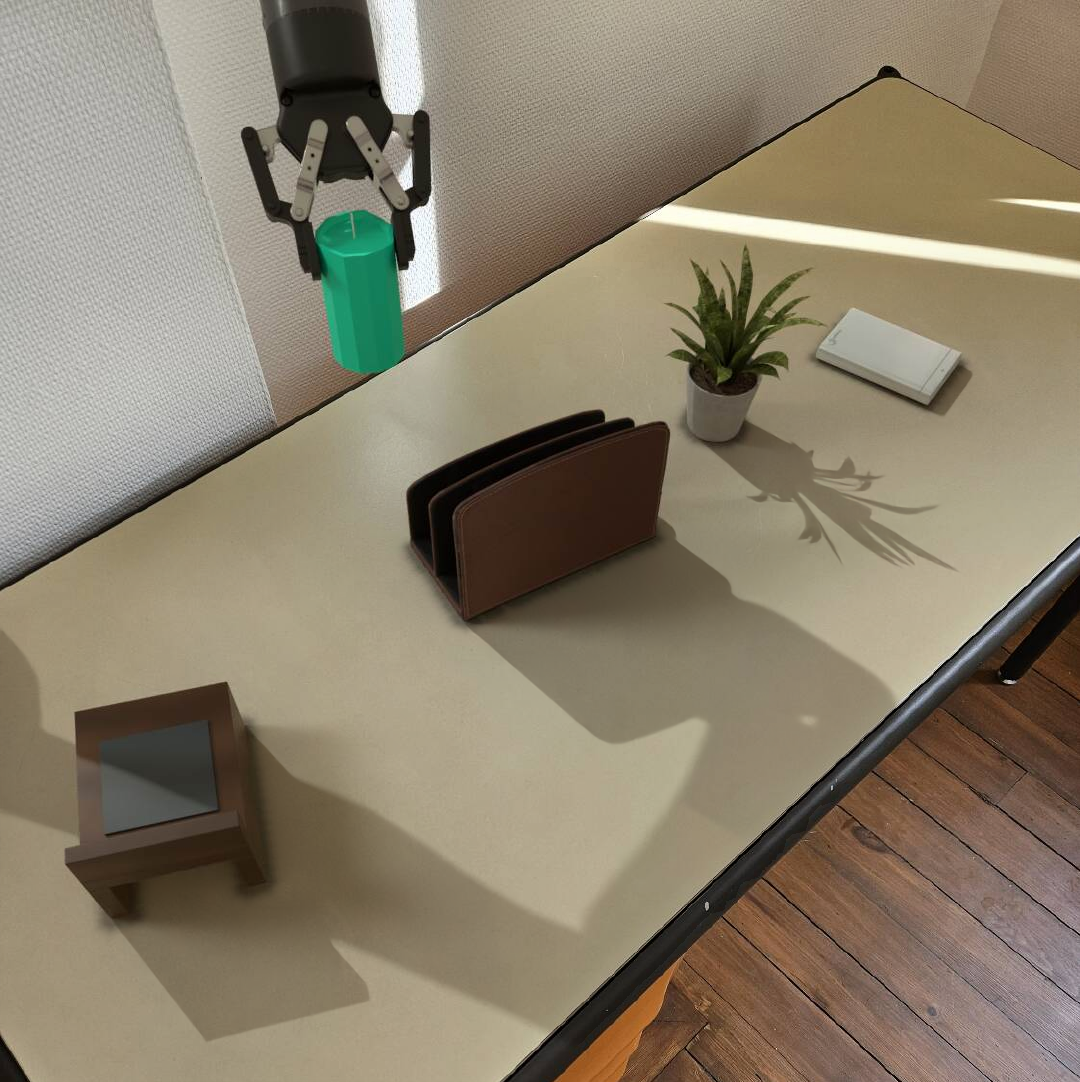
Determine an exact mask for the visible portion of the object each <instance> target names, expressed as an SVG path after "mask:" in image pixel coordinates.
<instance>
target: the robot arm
mask: <svg viewBox="0 0 1080 1082" xmlns="http://www.w3.org/2000/svg"><path fill="white" fill-rule="evenodd" d="M259 5H260V10H261V11H260V12H261V20H262V21H261V23H262V27H263V30H264V32H265V38H266V43H267V48H268V54H269V60H270V65H271V70H272V75H273V80H274V86H275V91H276V92H275V93H276V97H277V102H278V107H279V108H278V109H279V111H278V117H277V119H276V124H274V125H271V126H268V127H263V128H259V129H256V128H254V127H253V126H250V125H249V126H248V125H247V126H244V127H243V128H242V129H241V131H240V138H241V142H242V146H243V149H244V152H245V153H244V154H245V156H246V158H247V162H248V165H249V167H250V170H251V173H252V176H253V177H252V178H253V180H254V182H255V185H256V189H257V192H258V194H259V195H258V196H259V198H260V200H261V204H262V207H263V209H264V213H265V216H266V218H267V220H268V221H269V222H271V223H273V224H274V223H280V224H284V225H287V226H288V227H290V228H291V230H292V232H293V234H294V240H295V245H296V251H297V255H298V260H299V266H300V269H301V270H302V272H303V273H304V275H305V274H311V279H312V280H311V281H312V282H315V281H321V280H322V276H321V270H320V265H319V259H318V254H317V248H316V243H315V231H314V227H313V221H310V218H311V215H312V211H313V205H314V201H315V199H316V196H317V193H318V188H319V186H320V185H319V184H320V182H323V184H324V185H325V184H335V183H336V182H339V181H341V180H351V181H362V180H366V177H367V178H368V180H369V182H370V183H371V185H372V186H373V188H374V190H375V191H376V192H377V193H378V195H380V197H381V198H382V200H383V201H384V203H385V204H386V206H387V207H388V209H389V210H390V212H391V214H390V219H389V222H390V223H389V224H391V225H392V226H393V234H394V244H395V254H396V264H397V271H398V272H402V271H408V270H409V268H410V262H414V259H415V255H416V250H417V249H416V242H415V237H414V231H413V224H412V218H411V214H412V212H414V211H415V210H416V209H419V208H420V207H425V206H427V205H428V203H429V201H430V197H431V194H432V191H433V188H432V187H433V186H432V155H431V154H432V153H431V121H430V120H431V119H430V116H429V113H428V112H427V111H426V110H423V109H418V110H416V111H415V112H414V114H407V113H406V114H404V113H393V112H392V111H391V108H390V107H389V106H388V105H387V103H386V101H385V99H384V96H383V91H382V85H381V79H380V72H379V66H378V60H377V54H376V49H375V41H374V37H373V32H372V24H371V19H370V12H369V6H368V0H259ZM393 132H395V133H396V134H398V136H399V137H400V140H401V141H400V142H401V145H402V146H403V147H404V148H405V149H408V150H411V173H412V175H411V177H412V178H411V179H412V186H411V187H408V188H407V189H406V190H404V188H403V186H402V185H401V184H400V181H399V180H398V179H397V177H396V175H395V173H394V170H393V169H392V167H391V165H390V163H389V162H388V161H387V159H386V157H385V156H384V154H383V153H384V150H385V148H386V145H387V143H388V141H389V139H390V137H391V135H392V133H393ZM279 144H281V145H282V146H283V147H284V148H285V149H286V150H287V151H288V153H290V155H291V156H292V157H293V158H294V160H296V161H297V162H298V164H299V165H300V168H299V173H298V176H297V181H296V187H295V191H294V195H293V199H292V202H289V201H284V200H281V199H280V198H279V195H278V191H277V189H276V185H275V182H274V179H273V176H272V173H271V170H270V167H269V164H272V163H274V161H275V159H276V152H275V151H276V147H277V145H279Z"/></svg>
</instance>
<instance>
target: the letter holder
mask: <svg viewBox="0 0 1080 1082" xmlns="http://www.w3.org/2000/svg"><path fill="white" fill-rule="evenodd" d="M670 440H671V429H670V427H669V426H668V423H667V422H665V421H664V420H656V421H651V422H648V423H644V424H640V425H636V422H635V420H634V419H633V418H632V417H629V416H626V417H620V418H615V419H611V420H608V421H606V414H605V411H604V410H602V409H599V408H597V409H596V408H595V409H588V410H583V411H580V412H577V413H573V414H570V415H566V416H563V417H560V418H557V419H554V420H550V421H548V422H545V423H542V424H540V425H536V426H533V427H531V428H528V429H525V430H523V431H520V432H518V433H514V434H512V435H510V436H507V437H505V438H502V439H500V440H497V441H494V442H492V443H490V444H487V445H484V446H482V447H480V448H478V449H475V450H473V451H470V452H468V453H466V454H464V455H461V456H460V457H457V458H456V459H453V460H451V461H449V462H446V463H444V464H443V465H440V466H438V467H437V468H435V469H433V470H431V471H429V472H427V473H426V474H424V475H423V476H421V477H419V478H418V479H416V480H414V481H413V482H412V483H411V484H410V485H409V487H407V489H406V492H405V498H406V499H405V500H406V508H407V509H406V510H407V519H408V527H409V528H408V529H409V545H410V547H411V548H412V549H413V551H414V553H415V554H416V556H417V557H418V559H419V560H420V561H421V562H422V564H423V565H424V567H425V568H426V570H427V571H428V572H429V574H430V576H431V577H432V579H433V580H434V581H435V583H436V585H438V587H439V588H440V590H441V591H442V593H443V594H444V595H445V597H446V598H447V600H448V602H449V603H450V604H451V606H452V608H454V610H455V611H456V613H457V614H458V616H459V617H460V618H461V619H462V620H464V621H468V620H470V619H473V618H475V617H476V616H479V615H480V614H483V613H485V612H487V611H489V610H491V609H493V608H496V607H498V606H500V605H502V604H505V603H507V602H509V601H512V600H514V599H516V598H518V597H520V596H523V595H525V594H527V593H530V592H532V591H534V590H536V589H539V588H541V587H543V586H546V585H548V584H551V583H552V582H555V581H557V580H559V579H562V578H564V577H566V576H569V575H570V574H573V573H575V572H578V571H580V570H582V569H584V568H587V567H589V566H591V565H593V564H595V563H597V562H598V563H599V561H602V560H603V559H607V558H609V557H611V556H614V555H616V554H618V553H621V552H623V551H625V550H626V549H630V548H631V547H633V546H636V545H638V544H641V543H643V542H645V541H647V540H650V539H652V538H654V537H656V534H657V526H658V521H659V520H658V518H659V513H660V507H661V499H662V494H663V486H664V480H665V475H666V469H667V467H666V466H667V461H668V453H669V450H670V449H669V446H670Z"/></svg>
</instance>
